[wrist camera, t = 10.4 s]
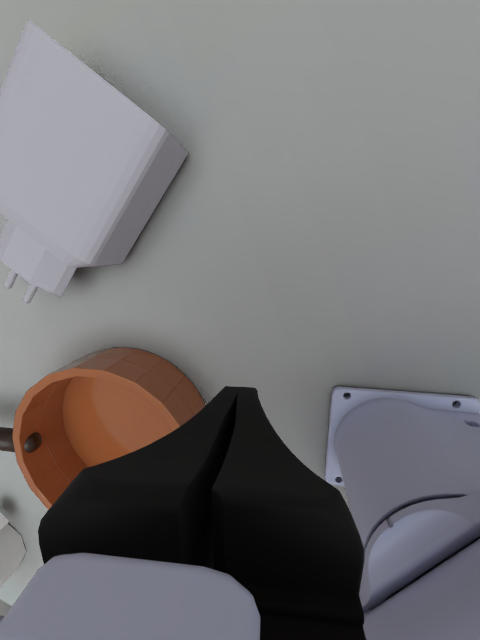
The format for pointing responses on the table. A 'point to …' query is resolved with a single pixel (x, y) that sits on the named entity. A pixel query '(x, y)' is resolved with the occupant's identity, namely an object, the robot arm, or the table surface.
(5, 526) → the white spray bottle
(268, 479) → the robot arm
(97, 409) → the pan
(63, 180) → the charger
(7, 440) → the pan handle
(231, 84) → the table surface
